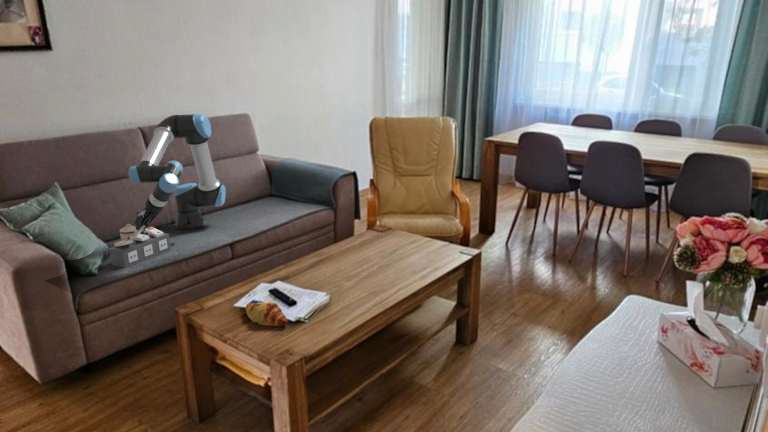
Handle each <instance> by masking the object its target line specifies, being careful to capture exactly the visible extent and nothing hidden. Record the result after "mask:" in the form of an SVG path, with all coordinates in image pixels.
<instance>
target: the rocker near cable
mask: <svg viewBox="0 0 768 432" xmlns="http://www.w3.org/2000/svg"><path fill="white" fill-rule="evenodd" d="M144 231H145V233H147V234H151V235H153V236H155V237H160V236H162V235H164V232H163V231H162V230H159V229H157V228H155V227H153V226H150V227H147V228H144Z"/></svg>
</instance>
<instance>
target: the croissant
mask: <svg viewBox="0 0 768 432" xmlns="http://www.w3.org/2000/svg"><path fill="white" fill-rule="evenodd" d="M245 312H246V315H247V317H248V318H249V319H250V320H251V321H252V323H255V324H258V325H261V326H271V327H283V326H286V325H287V324H288V323H289V319H288V318H286V315H285V314H284V312H283V310H282V308H281V307H279V305H278V304H277V303H276V302H274V301H273V302H272V301H270V302H252V303H247V304H246V305H245Z"/></svg>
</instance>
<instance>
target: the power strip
mask: <svg viewBox="0 0 768 432" xmlns="http://www.w3.org/2000/svg"><path fill="white" fill-rule="evenodd" d="M146 235H147V236H149V239H147V240H144V241H138V240H133V243H130V244H127V245H122V246H116V247H115V246H112V247H109V248H108V251H109V257H110V263H111V266H114V267H119V268H122V269H127V268H129V267H132V266H134V265H137V264H139V263H142V262H144V261H147V260H149V259H152V258H154V257H156V256H159V255H163V254H164V253H166V252H169V251H171V250H172V246H175V245H176V243H175V242H174V241H173V242H171V237H170V234H169V233H164V235H162V236H160V237H155V236H153V235H151V234H149V233H147V234H146Z"/></svg>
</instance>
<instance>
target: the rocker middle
mask: <svg viewBox="0 0 768 432" xmlns="http://www.w3.org/2000/svg"><path fill="white" fill-rule="evenodd" d="M147 235H148V234H145V235H143V233H142V234H141V233H140V234H139V235H136V234H134V235H131V236H130V239H133V240H138V241H144V240H147V239H149V236H147Z"/></svg>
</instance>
